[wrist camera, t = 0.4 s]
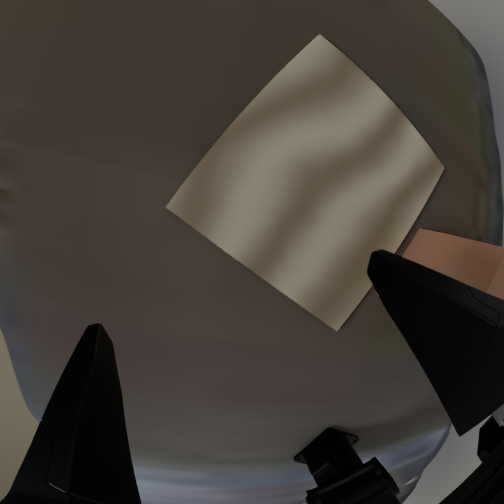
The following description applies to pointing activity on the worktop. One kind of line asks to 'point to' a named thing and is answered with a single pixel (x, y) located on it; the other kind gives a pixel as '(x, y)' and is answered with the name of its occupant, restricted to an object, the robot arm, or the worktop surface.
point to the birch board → (312, 182)
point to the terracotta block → (460, 259)
